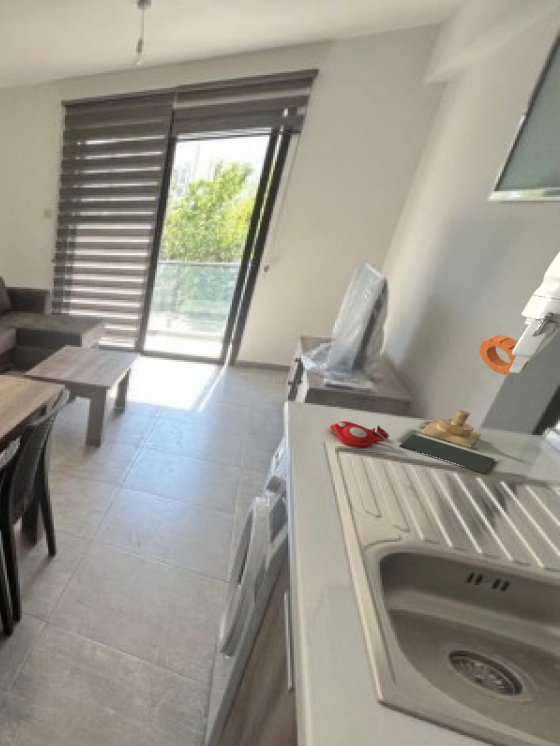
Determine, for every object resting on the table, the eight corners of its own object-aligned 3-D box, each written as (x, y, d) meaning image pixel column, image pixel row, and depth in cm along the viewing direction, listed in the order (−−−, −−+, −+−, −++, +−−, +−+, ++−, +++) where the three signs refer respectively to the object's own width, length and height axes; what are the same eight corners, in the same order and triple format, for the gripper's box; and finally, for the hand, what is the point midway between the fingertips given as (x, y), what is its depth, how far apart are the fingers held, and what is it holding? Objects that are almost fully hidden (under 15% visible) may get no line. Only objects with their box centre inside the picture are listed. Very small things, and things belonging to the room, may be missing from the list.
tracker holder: (362, 447, 117) (326, 422, 124) (352, 459, 120) (318, 434, 127) (398, 432, 120) (361, 408, 126) (388, 444, 123) (353, 420, 129)
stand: (478, 438, 128) (493, 414, 125) (470, 448, 123) (486, 423, 119) (431, 424, 135) (444, 401, 132) (421, 433, 129) (434, 409, 126)
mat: (494, 460, 117) (495, 458, 117) (484, 474, 110) (485, 472, 110) (412, 435, 128) (413, 433, 128) (398, 446, 121) (399, 445, 121)
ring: (508, 381, 117) (517, 377, 116) (524, 358, 110) (535, 353, 109) (473, 356, 123) (482, 352, 122) (487, 332, 115) (497, 327, 115)
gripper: (568, 318, 100) (528, 381, 106) (578, 309, 111) (541, 366, 117) (525, 312, 104) (489, 373, 111) (539, 304, 115) (506, 360, 122)
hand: (516, 369), depth 114 cm, fingers closed on ring, 5 cm apart
